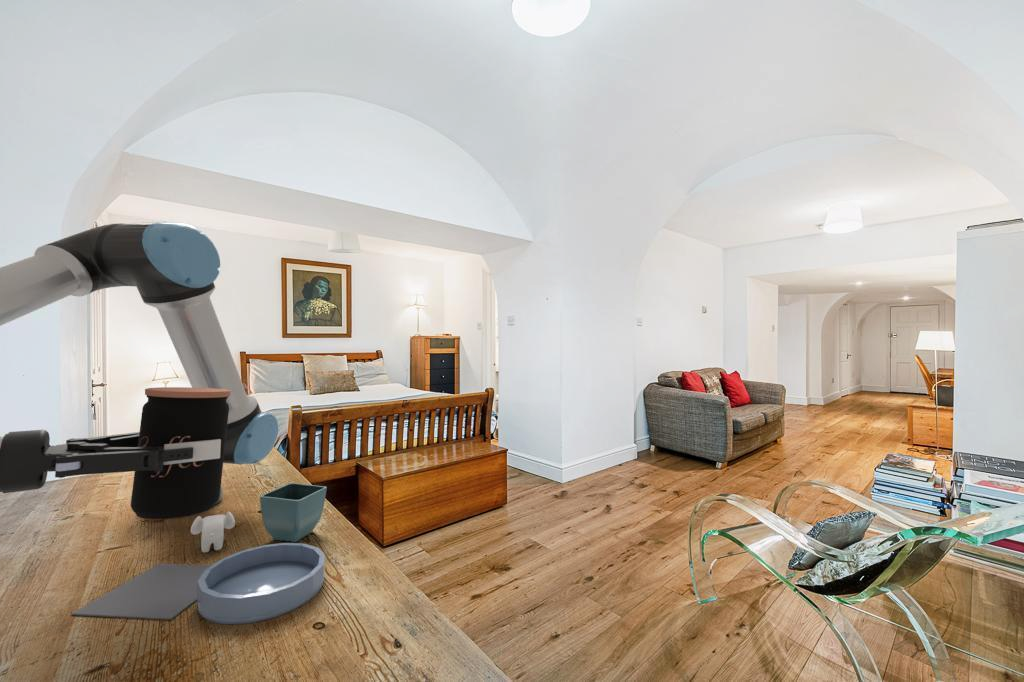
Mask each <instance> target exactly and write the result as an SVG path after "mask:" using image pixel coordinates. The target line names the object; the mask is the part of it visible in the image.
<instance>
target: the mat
mask: <svg viewBox="0 0 1024 682" xmlns="http://www.w3.org/2000/svg"><path fill="white" fill-rule="evenodd" d="M210 566H211V565H206V564H205V565H202V564H201V565H200V564H181V563H158V564H156V565H153V566H152V567H150V568H149V569H147V570H145V571H143V572H142V573H140V574H138V575H137V576H134V577H133V578H131V579H129V580H128V581H126V582H124V583H123V584H121V585H119V586H117V587H115V588H113V589H112V590H110V591H108V592H107V593H105V594H104V595H101V596H99V597H97V598H96V599H95V600H92V601H91V602H89V603H87V604H86V605H84V606H82V607H80V608H79V609H76V610H75V611H74V612H71V616H82V617H83V616H84V617H101V618H104V617H105V618H122V619H123V618H124V619H125V618H126V619H145V620H163V621H169V620H170V621H171V620H173V619H174V618H177V616H178V615H180V614H181V613H183V612H184V611H185V610H186V609H188V608H189V607H190V606H192V605H193V604H194V603H196V602H197V587H198V580H199V579H200V577H201V576H202V574H203V573H204V571H205V570H206V569H207V568H209V567H210Z"/></svg>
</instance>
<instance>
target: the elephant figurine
mask: <svg viewBox="0 0 1024 682" xmlns="http://www.w3.org/2000/svg"><path fill="white" fill-rule="evenodd" d="M235 520H236V519H235V517H234V515H233V514H232V512H230V511H227V513H226V514H215V515H214V514H213V515H207V516H205V517H203V518H202V517H201V515H198V516H197V517H195V519H194V520H193V522H192V525H191V527H190V534H192V535H199V534H200V533H201V541H200V543H201V544H200V545H201V547H200V549H201V552H202V553H208V552H210V549H211V545H212V544H213V549H214V550H215V551H220V550H221V549H222V548H223V544H224V530H225V529H227V530H232V529H233V528H234V527H235V525H236V521H235Z"/></svg>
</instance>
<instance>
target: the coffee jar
mask: <svg viewBox="0 0 1024 682" xmlns="http://www.w3.org/2000/svg"><path fill="white" fill-rule="evenodd" d="M230 393H231V390H227V389H215V388H192V387H186V386H185V387H184V386H183V387H181V386H180V387H179V386H178V387H177V386H176V387H174V386H173V387H172V386H171V387H167V386H166V387H165V386H164V387H148V388H144V395H145V396H146V398H147V401H146V402H145V403H144V405H143V406H142V409H141V410H142V411H141V417H140V418H141V419H140V426H139V432H140V433H139V441H138V447H157V446H161V447H164V444H174V443H185V442H195V441H206V440H216V439H220V440H221V449H220V458H218V459H210V460H201V461H193V462H185V463H176V464H168V465H164V464H163V471H160V472H155V470H153V471H150V470H146V471H134V472H133V483H132V490H131V491H132V492H131V497H130V498H131V499H130V508H131V510H132V511H133V512H134V513H135V515H136V516H137V517H139V518H142V519H146V520H147V519H149V520H166V519H167V520H168V519H178V518H183V517H189V516H193V515H197V514H201V513H204V512H206V511H209V510H211V509H212V508H213V507H214V506H215V505H216V504H215V503H216V502H217V501H218V499H219V496H220V488H221V487H222V477H223V469H224V463H223V461H224V451H225V442H226V433H227V424H228V414H229V405H228V403H227V402H226V399H227V398H228V397H229V396H230ZM214 504H215V505H214Z"/></svg>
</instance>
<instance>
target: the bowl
mask: <svg viewBox="0 0 1024 682" xmlns="http://www.w3.org/2000/svg"><path fill="white" fill-rule="evenodd" d="M325 563H326V554H325V553H324V552H323V551H322V550H321V549H320V548H319V547H317V546H315V545H310V544H307V543H301V542H299V543H298V542H280V543H270V544H263V545H260V546H256V547H252V548H247V549H245V550H244V549H243V550H239V551H238V552H236V553H233V554H231V555H228V556H226V557H223V558H221V559H219V560H218V561H216V562H215V563H213V564H211V565H209V566H210V567H209V568H207V569H206V570H205V571H204V573H203V574H202V576H201V577H200V579H199V580H198V587H197V601H196V602H197V610H198V613H199V615H200V616H201V618H203V619H205V620H206V621H208V622H212V623H214V624H215V623H216V624H220V625H242V624H243V625H244V624H245V625H247V624H252V623H257V622H258V623H259V622H262V621H265V620H266V621H267V620H269V619H273V618H277V617H279V616H282V615H285V614H287V613H290V612H291V611H294V610H296V609H298V608H299V607H301V606H303V605H305V604H306V603H307V602H309V601H310V600H312V599H313V598H314V597H315V596H316V595H317V594H318V593H319V592H320V590H321V588H323V585H324V579H325V565H326V564H325ZM311 598H312V599H311Z"/></svg>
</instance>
